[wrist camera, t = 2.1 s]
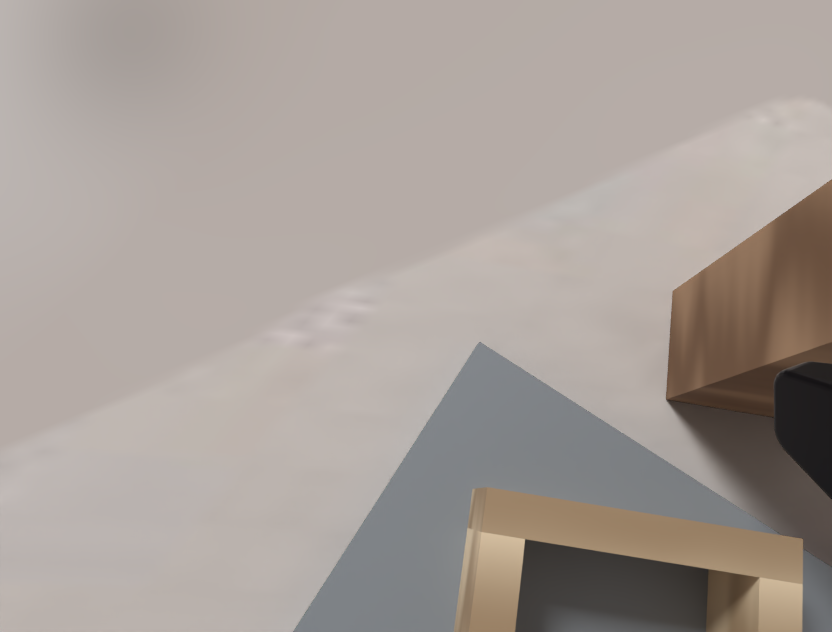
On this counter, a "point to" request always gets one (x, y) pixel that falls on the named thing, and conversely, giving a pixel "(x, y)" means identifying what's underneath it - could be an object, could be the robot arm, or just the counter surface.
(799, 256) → the post
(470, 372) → the board
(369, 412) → the counter surface
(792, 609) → the socket
